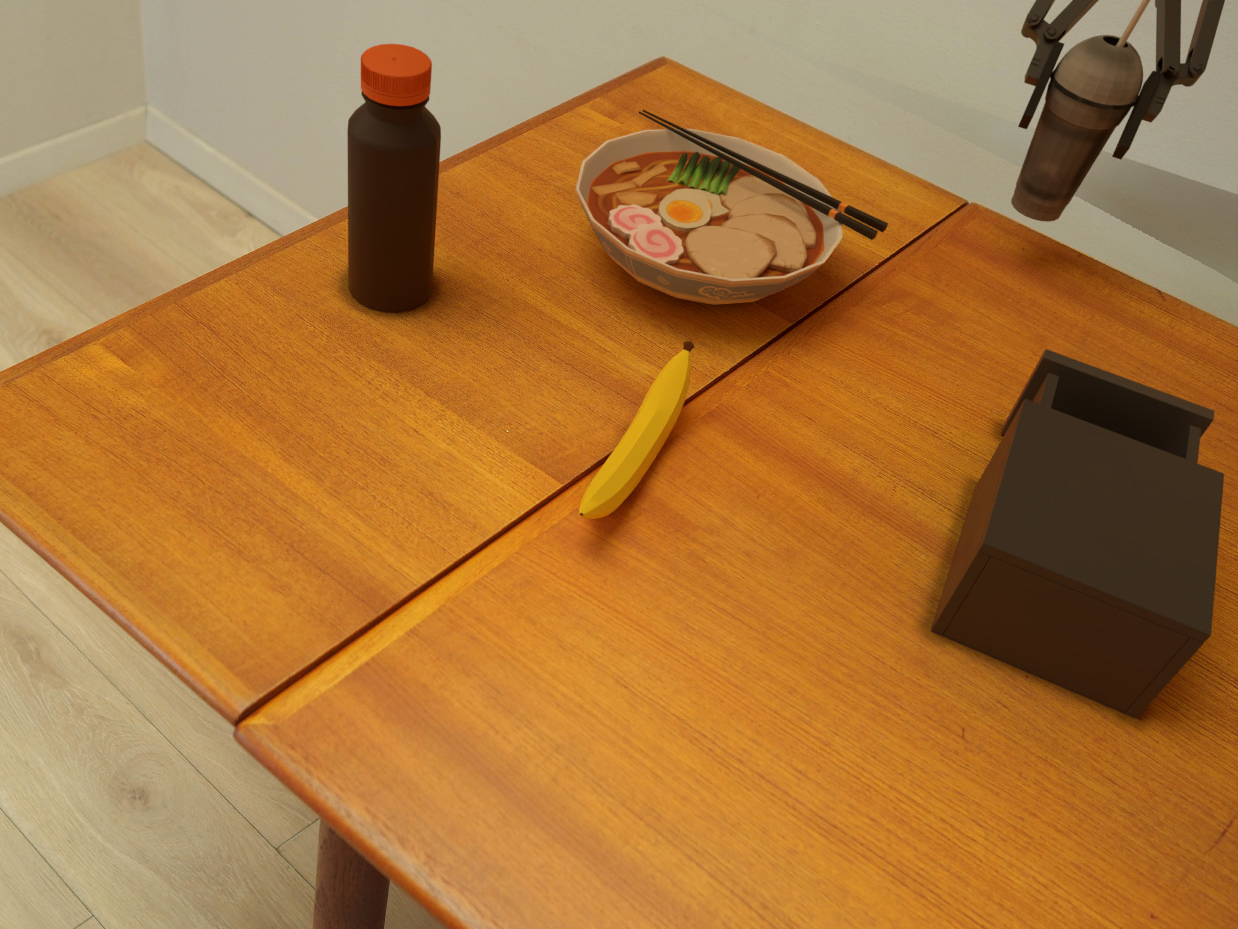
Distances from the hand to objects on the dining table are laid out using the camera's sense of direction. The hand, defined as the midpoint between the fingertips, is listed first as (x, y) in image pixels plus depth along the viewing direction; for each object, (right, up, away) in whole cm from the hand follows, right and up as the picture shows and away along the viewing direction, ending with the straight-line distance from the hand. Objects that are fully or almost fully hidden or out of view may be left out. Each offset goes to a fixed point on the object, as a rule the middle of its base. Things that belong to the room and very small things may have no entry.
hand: (1072, 137), depth 97 cm
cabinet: (-9, -37, -16) cm, 42 cm away
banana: (-38, -29, -13) cm, 49 cm away
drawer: (-4, -30, -9) cm, 32 cm away
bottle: (-57, -13, -1) cm, 58 cm away
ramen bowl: (-31, -10, +6) cm, 33 cm away
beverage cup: (0, -4, +9) cm, 9 cm away
